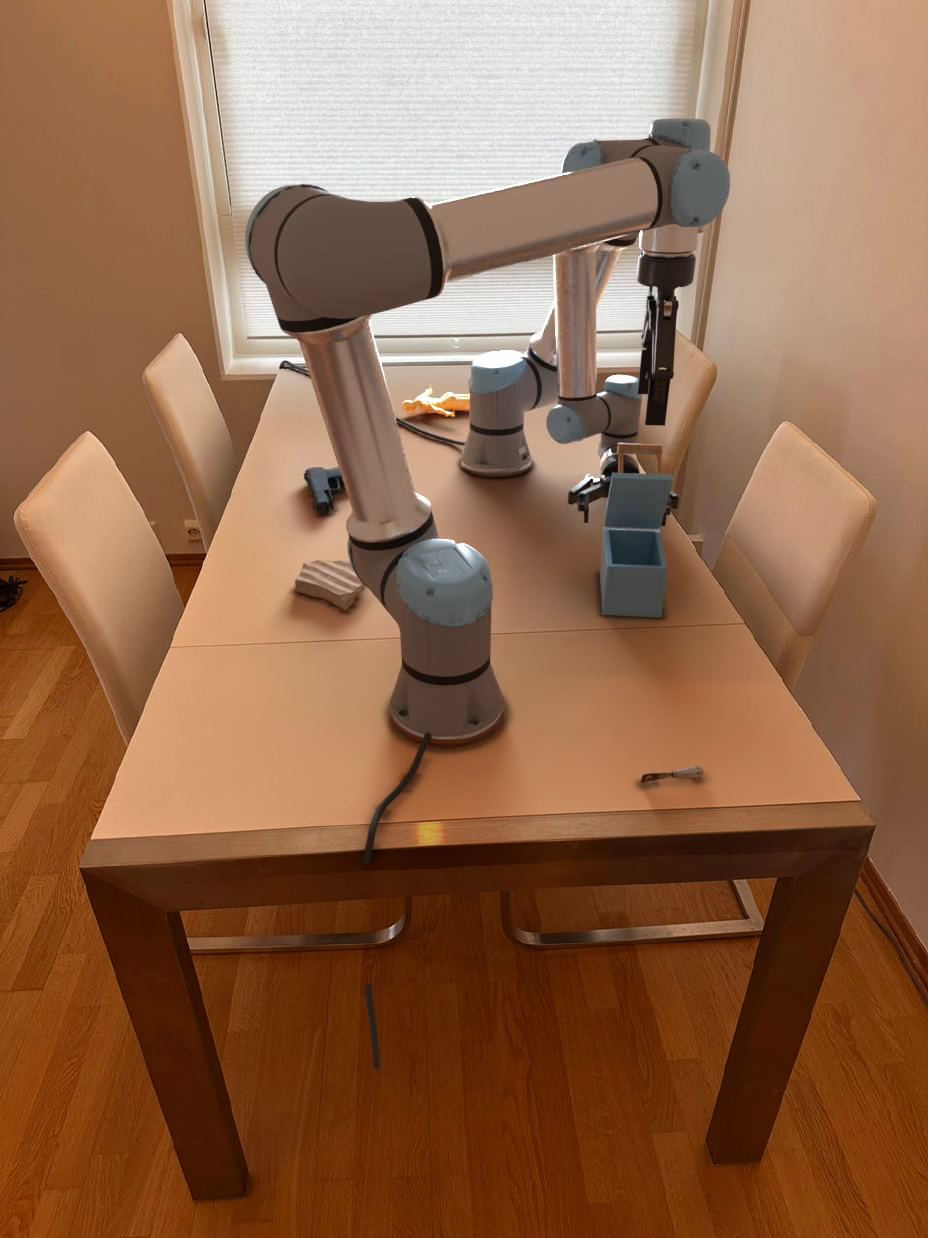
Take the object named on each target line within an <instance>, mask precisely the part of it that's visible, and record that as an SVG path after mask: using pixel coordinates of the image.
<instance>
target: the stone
mask: <svg viewBox="0 0 928 1238" xmlns="http://www.w3.org/2000/svg"><path fill="white" fill-rule="evenodd" d="M294 585H295V586H294V591H295V592H299V593H301V594H305V595H307V596H310V597H312V598H320V599H324V600H325V601H328V602H329V603H331V604H332V605H334V606H335V607H338V608H339V609H341V610H344V611H347V610H348V608H349V607H351V606H352V605H353V604H354V601H355V598H356V596H357V595H358V594H359V593H360V592H361V590H362V589H364V588H365V587H366V586H365V585H364V584H363V583H362V582H361V581H360V580H359V578H358V577H357V576H356V574H355V572H354V570H353V568H352V565H351V562H350V560H349V559H341V560H340V559H339V560H328V559H316V560H314V561H313V560H311V561H309V560H306V561H304V562H303V563H302V566H301V568H300V572H299V575H298V577H297V578H296V579H295V581H294Z"/></svg>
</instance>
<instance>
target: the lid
mask: <svg viewBox="0 0 928 1238" xmlns="http://www.w3.org/2000/svg"><path fill="white" fill-rule="evenodd" d="M617 453H618V454H619V473H612V477H611V483H610V489H609V495H608V497H607V501H606V502H607V503H606V507H605V514H604V520H603V528H627V529H654V530H655V529H656V530H660V529H661V527H662V526H661V523H662V520H663V516H664V513H665V509H666V505H667V502H668V498H669V495H670V491H671V490H672V487H673V483H674V474H665V473H664V474H662V473H663V471H662V469H663V468H662V454H663V444H659V443H655V444H654V443H637V444H626V443H618V447H617ZM623 454H637V455H651V456H652V455H654V456H655V457H656V458H655V463H656V469H655V470H656V473H640V474H634V473H623Z"/></svg>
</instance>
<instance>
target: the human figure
mask: <svg viewBox="0 0 928 1238" xmlns="http://www.w3.org/2000/svg"><path fill="white" fill-rule="evenodd" d="M424 391H425V392H423V393H422V394H420V395H418V396H416V398H415V399H414V400H404V401H403V402H402V411H404V412H405V413H410V414H412V413H414V412H417V408H418V409H420V410H421V411H423V412H424V413H427V414H439V415H443V416H444V417H449V416H450V417H451V418H452V417H453V418H454V417H455V416H456V414H455V411H462V410H464V409H467V408H469V407H470V405H469V393H468V394H460V393H457V394H455V393H453V392H446V393H444V394H443V395H442V396H441V397H440V398H434V397H429V396H430V395H432V394H433V392H434V391H433V389H432V385H429V387H428V389H424ZM450 410H452V411H450Z"/></svg>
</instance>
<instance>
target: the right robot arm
mask: <svg viewBox="0 0 928 1238" xmlns="http://www.w3.org/2000/svg"><path fill="white" fill-rule="evenodd" d="M638 236H640V232H638V233H634V234H630V235H626V236H623V237H619V238H615V239H611V240H608V241H604V242H600V243H596V244H593V245H589V246H585V247H581V248H578V249H574V250H570V251H566V252H563V253H559V254H555V255H552V268H553V273H552V274H553V296H554V300H553V302H552V305H551V307H550V310H549V313H548V315H547V317H546V320H545V322H544V325H543V326H542V330H541V331H540V332H537V333H535V334H533V335H532V337H531V338H530V341H529V343H528V344H527V345H528V346H527V348H526V350H525V353H524V354H523V353H521V352H519V351H517V350H516V351H515V350H509V349H503V350H500V351H497V350H494V351H489V352H486V353H484V354H483V353H482V354H480V355H479V356H477V357H476V358H475V359H474V360H473V361H472V362H471V364H470V367H469V378H468V394H469V405H470V406H469V407H468V408H469V419H468V421H469V430H468V433H467V437H466V439H465V441H461V440H457V439H452V438H449V437H445V436H441V435H439V434H435V433H433V432H430V431H427V430H425V429H422V428H420V427H417V426H416V425H414V424H412V423H410V422H408V421H405V420H404V419H402V418H399V417H398V416H396V415H395V418H396V422H397V423H400V424H401V425H402V426H405V427H407V428H409V429H411V430H413V431H415V432H417V433H419V434H422V435H424V436H427V437H429V438H433V439H435V440H438V441H442V442H446V443H449V444H453V445H458V446H462V447H463V448H462V451H461V454H460V466H461V467H462V468H463V470H465V471H466V472H468V473H470V474H473V475H476V476H480V477H487V478H507V477H513V476H518V475H520V474H522V473H525V472H527V471H528V470H529V469H530V468H531V465H532V454H531V450H530V447H529V444H528V441H527V437H526V434H525V430H524V428H525V427H524V426H525V425H524V424H525V413H526V412H531V411H533V410H538V409H541V408H544V407H549V406H552V405H555V404H557V405H555V406H553V407H552V408H551V409H550V410H549V411H548V413H547V417H546V418H545V419H546V420H545V421H546V422H545V425H546V429H547V432H548V434H549V436H550V438H552V440H554V442H556V443H558V444H561V445H568V444H571V443H572V444H573V443H575V442H576V443H577V442H582V441H583V440H585V439H587V438H588V439H589V438H590V437H593V436H596V435H599V434H600V439H599V442H598V450H597V452H598V455H599V465H600V466H599V467H600V477H599V478H595V477H594V476H593V475H592V474H591V473H587V474H585V477H584V478H583V480H581V481H580V482H578V483H577V484H575V486H573V487H571V489H569V490H568V492H567V493H568V494H567V505H570V506H573V505H575V504H576V505H577V506H576V510H577V511H578V512H580V513H583V524H589V517H590V504H591V503H593V502H596V501H598V500H601V499H602V498H603V499H608V495H609V489H610V483H611V477H612V473H619V454H618V453H617V447H618V443H626V444H638V439H639V428H640V417H641V412H642V411H641V410H642V402H643V394H638V383H639V377H638V378H637V377H635V376H632V375H627V374H626V375H625V374H616V375H611V376H608V377H607V379H605V382H604V386H603V389H602V390H603V392H599V393H598V369H597V363H598V362H597V359H598V358H597V309H598V307H599V304H600V303H601V299H602V298H603V296H604V293H605V291H606V289H607V286H608V285H609V282H610V280H611V277H612V275H613V273H614V271H615V269H616V266H617V264H618V262H619V259H620V257H621V255H622V253H623V251H624V249H628V248H631V247H632V246H634V245H635V244H636V241H637V239H638ZM279 365H280V366H284V365H288V366H289V367H291V368H292V369H296V370H298V371H302V372H304V373H306V374H308V375H309V372H308V369H307V368H304V367H302V366H299V365H296V364H294V363H292V362H291V361H289V360H286V359H285V360H282V361H280V364H279ZM637 455H638V454H623V473H634V474H641V473H640V466H639V461H638V456H637ZM679 502H680V495H679V494H678V493H677V492H675V491H674V490H672V489H671V491H670V495H669V498H668V502H667V505H666V509H665V513H664V516H663V520H662V523H661V527H666V523H667V516H670V515H671V510H677V509H678V508H679Z"/></svg>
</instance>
